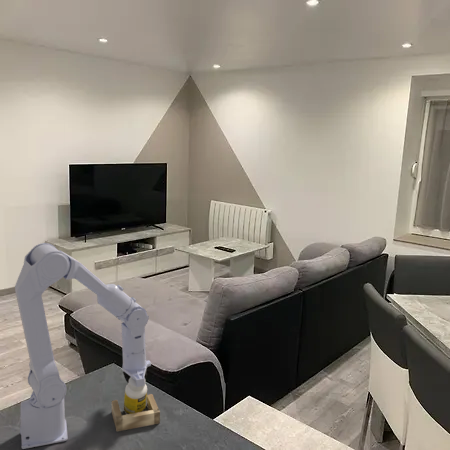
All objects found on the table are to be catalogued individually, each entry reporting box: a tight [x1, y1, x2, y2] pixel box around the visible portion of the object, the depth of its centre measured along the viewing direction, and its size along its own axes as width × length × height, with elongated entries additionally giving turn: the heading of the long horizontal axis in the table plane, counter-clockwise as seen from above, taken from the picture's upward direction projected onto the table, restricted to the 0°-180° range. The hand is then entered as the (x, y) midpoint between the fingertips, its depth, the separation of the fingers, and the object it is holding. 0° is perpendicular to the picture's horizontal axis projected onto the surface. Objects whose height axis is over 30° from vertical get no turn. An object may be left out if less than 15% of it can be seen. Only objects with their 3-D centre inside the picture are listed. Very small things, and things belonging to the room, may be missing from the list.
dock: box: [111, 393, 161, 432], centre depth 112 cm, size 10×8×3 cm
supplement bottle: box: [123, 377, 148, 415], centre depth 112 cm, size 5×5×10 cm
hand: (136, 397), depth 116 cm, fingers closed, pressing on supplement bottle
